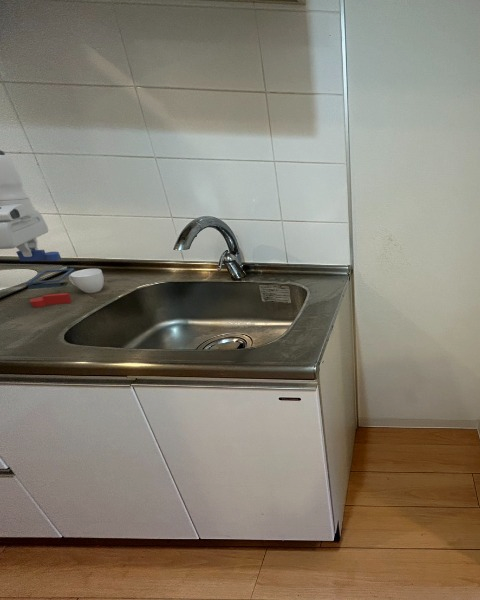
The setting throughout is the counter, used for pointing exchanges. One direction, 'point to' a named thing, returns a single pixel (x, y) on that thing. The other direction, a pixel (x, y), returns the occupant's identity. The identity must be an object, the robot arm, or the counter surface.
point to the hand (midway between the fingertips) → (31, 254)
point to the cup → (88, 280)
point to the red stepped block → (51, 299)
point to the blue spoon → (40, 256)
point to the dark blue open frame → (48, 280)
